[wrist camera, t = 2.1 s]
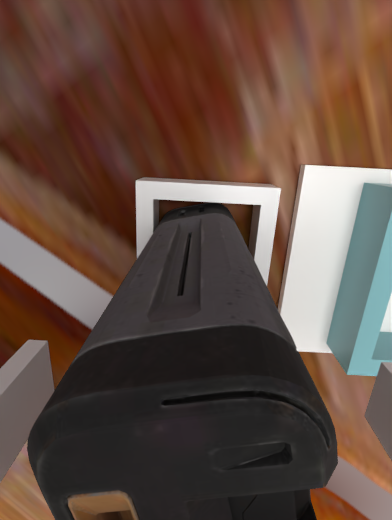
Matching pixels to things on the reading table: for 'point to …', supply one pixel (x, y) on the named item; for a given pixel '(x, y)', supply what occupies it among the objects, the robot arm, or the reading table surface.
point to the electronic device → (186, 394)
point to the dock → (341, 266)
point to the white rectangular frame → (218, 192)
